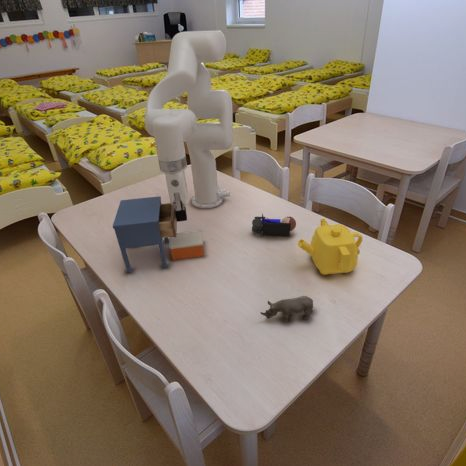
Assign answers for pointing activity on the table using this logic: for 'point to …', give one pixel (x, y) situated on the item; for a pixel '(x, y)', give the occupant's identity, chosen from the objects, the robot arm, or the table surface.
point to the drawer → (167, 221)
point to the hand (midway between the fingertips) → (181, 219)
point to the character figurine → (273, 226)
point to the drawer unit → (139, 226)
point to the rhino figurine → (290, 307)
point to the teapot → (333, 248)
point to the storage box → (186, 245)
